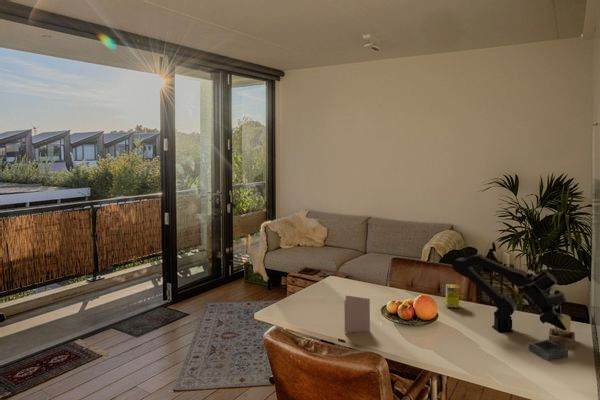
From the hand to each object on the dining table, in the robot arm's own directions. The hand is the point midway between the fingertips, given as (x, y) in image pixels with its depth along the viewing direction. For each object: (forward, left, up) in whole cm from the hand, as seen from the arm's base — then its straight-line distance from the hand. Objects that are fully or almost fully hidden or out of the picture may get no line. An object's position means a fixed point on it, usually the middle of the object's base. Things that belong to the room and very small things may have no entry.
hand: (566, 327), depth 179 cm
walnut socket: (-1, +1, -7) cm, 7 cm away
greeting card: (-83, +22, -7) cm, 86 cm away
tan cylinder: (-1, +1, -7) cm, 7 cm away
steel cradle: (-13, -8, -7) cm, 17 cm away
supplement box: (-28, +46, -7) cm, 54 cm away
